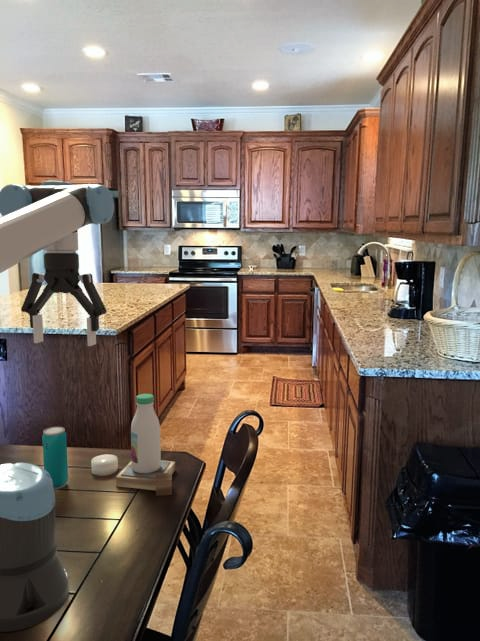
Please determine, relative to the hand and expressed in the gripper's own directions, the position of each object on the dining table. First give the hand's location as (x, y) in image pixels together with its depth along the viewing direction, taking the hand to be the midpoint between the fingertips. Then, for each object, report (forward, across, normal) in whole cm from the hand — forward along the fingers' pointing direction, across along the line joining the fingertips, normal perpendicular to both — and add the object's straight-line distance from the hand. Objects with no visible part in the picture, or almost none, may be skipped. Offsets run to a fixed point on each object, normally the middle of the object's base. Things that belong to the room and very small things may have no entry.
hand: (65, 343), depth 116 cm
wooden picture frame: (+39, -14, -14) cm, 43 cm away
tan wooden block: (+39, -21, -8) cm, 45 cm away
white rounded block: (+39, -1, -16) cm, 42 cm away
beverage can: (+39, +7, -5) cm, 40 cm away
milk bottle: (+36, -14, -14) cm, 41 cm away
